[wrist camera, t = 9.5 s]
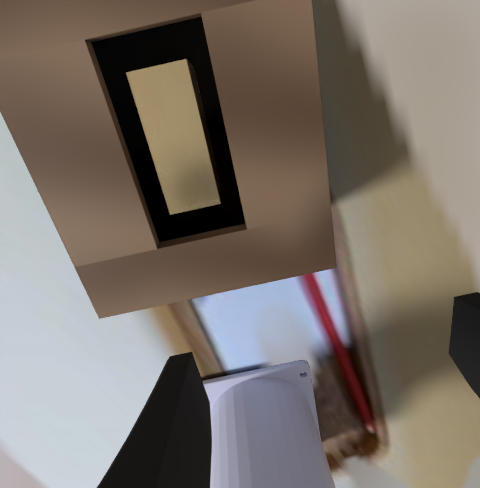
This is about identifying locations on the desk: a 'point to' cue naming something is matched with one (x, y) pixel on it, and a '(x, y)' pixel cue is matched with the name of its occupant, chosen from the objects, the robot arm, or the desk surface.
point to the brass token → (177, 134)
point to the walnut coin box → (120, 164)
